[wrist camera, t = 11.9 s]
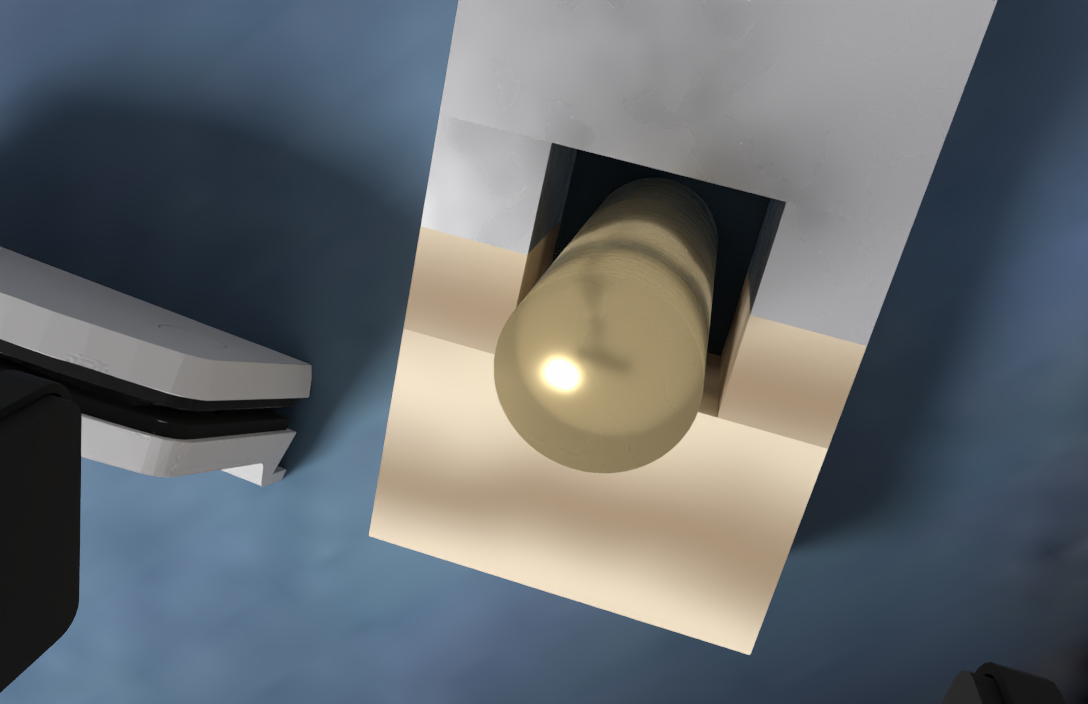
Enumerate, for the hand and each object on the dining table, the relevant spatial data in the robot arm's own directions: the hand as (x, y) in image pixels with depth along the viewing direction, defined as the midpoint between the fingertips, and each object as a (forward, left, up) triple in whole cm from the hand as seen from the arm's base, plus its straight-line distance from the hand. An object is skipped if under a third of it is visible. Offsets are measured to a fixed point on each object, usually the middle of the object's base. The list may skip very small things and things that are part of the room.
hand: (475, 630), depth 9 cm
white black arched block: (+8, -19, -21) cm, 29 cm away
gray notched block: (-5, 0, -20) cm, 21 cm away
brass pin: (0, 0, -20) cm, 20 cm away
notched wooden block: (+5, 0, -20) cm, 21 cm away
